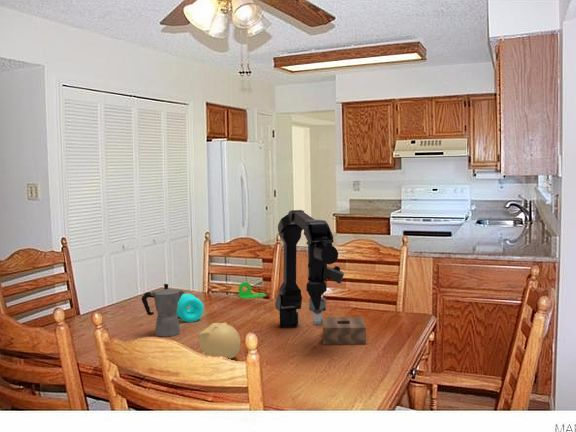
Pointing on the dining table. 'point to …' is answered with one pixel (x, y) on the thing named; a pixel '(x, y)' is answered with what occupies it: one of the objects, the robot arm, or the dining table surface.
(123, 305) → the dining table surface
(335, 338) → the block
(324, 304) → the steel pin
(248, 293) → the mechanical part
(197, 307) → the donuts
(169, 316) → the coffeepot
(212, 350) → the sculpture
